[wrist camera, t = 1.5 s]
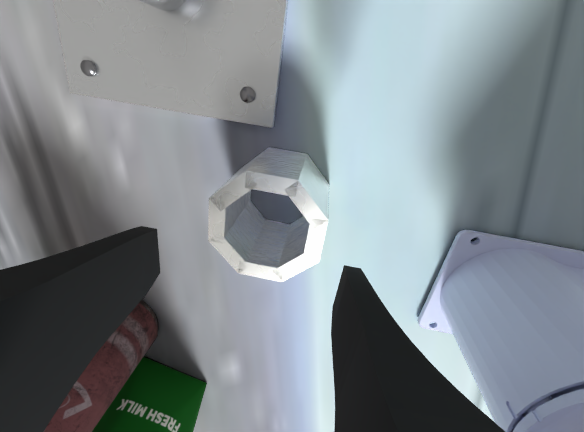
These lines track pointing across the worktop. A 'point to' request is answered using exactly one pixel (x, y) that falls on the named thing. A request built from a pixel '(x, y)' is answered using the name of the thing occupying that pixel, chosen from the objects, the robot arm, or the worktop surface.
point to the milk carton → (154, 401)
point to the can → (106, 373)
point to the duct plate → (177, 54)
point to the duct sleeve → (266, 233)
